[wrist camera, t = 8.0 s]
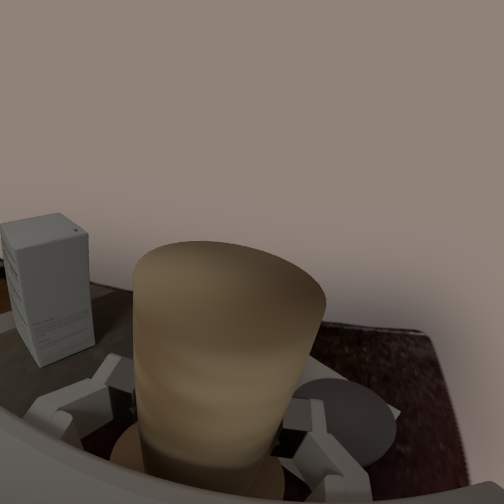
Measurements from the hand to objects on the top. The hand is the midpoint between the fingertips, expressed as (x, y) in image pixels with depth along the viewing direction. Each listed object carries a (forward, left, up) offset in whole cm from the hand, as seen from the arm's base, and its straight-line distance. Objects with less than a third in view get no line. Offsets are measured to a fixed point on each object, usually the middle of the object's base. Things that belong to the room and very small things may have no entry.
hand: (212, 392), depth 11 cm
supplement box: (-23, -2, -14) cm, 27 cm away
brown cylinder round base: (0, -1, -6) cm, 6 cm away
